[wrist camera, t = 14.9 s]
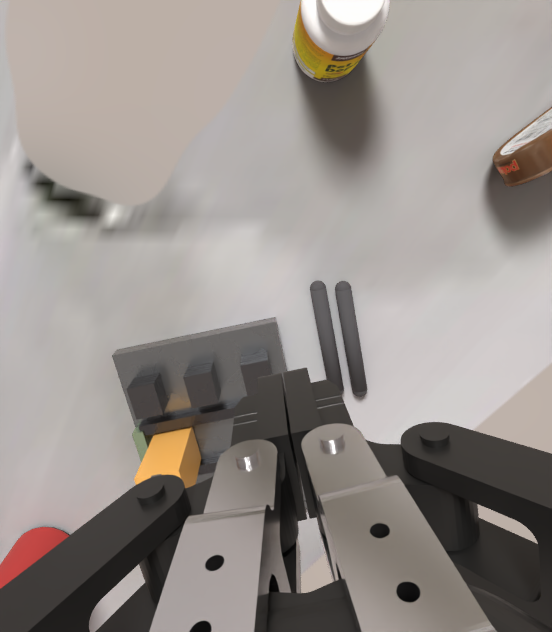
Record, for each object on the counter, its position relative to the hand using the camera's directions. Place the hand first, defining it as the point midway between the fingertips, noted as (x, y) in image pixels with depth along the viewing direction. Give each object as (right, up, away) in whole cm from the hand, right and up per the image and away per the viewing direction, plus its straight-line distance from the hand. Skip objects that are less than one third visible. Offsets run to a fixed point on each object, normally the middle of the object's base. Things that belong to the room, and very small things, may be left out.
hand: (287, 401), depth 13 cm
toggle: (-10, -10, +29) cm, 32 cm away
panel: (-6, -9, +30) cm, 32 cm away
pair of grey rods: (+6, +1, +28) cm, 29 cm away
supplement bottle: (+4, +24, +22) cm, 33 cm away
